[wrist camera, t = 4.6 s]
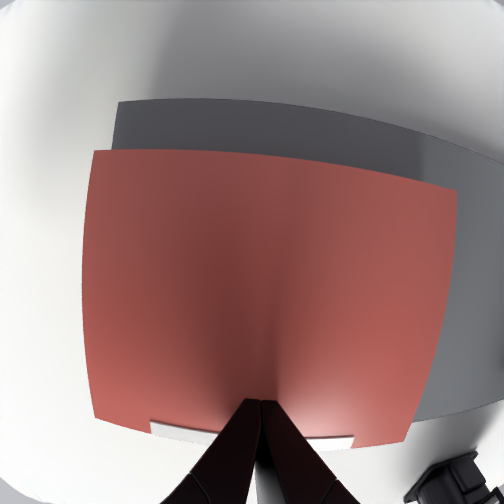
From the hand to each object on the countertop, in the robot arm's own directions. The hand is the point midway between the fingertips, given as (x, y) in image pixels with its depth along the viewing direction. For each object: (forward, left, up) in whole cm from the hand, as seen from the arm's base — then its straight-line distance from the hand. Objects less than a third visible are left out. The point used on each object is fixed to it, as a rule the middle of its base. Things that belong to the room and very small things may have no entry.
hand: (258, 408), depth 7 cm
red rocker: (+3, 0, -1) cm, 3 cm away
